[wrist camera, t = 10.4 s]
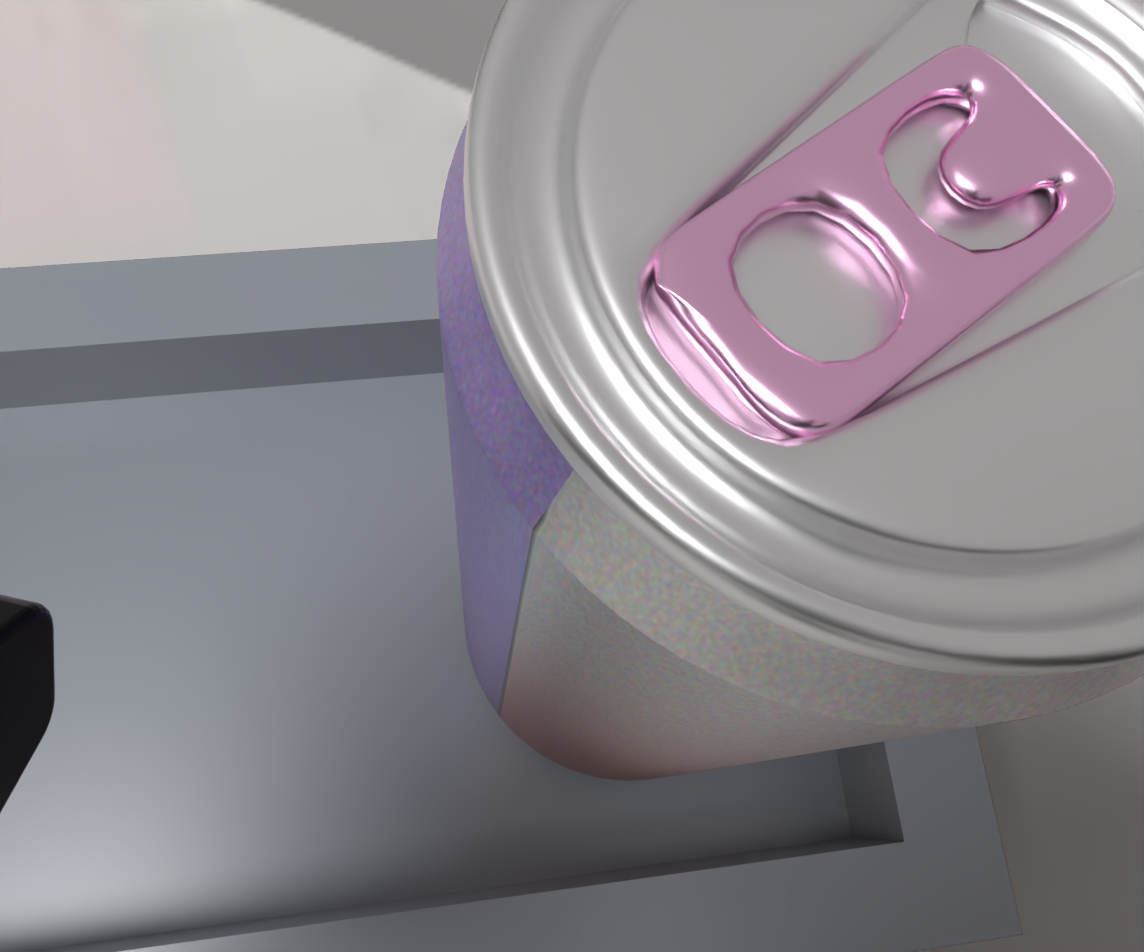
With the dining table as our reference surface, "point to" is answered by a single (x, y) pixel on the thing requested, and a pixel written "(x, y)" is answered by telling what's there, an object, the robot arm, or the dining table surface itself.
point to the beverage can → (796, 371)
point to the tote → (363, 667)
